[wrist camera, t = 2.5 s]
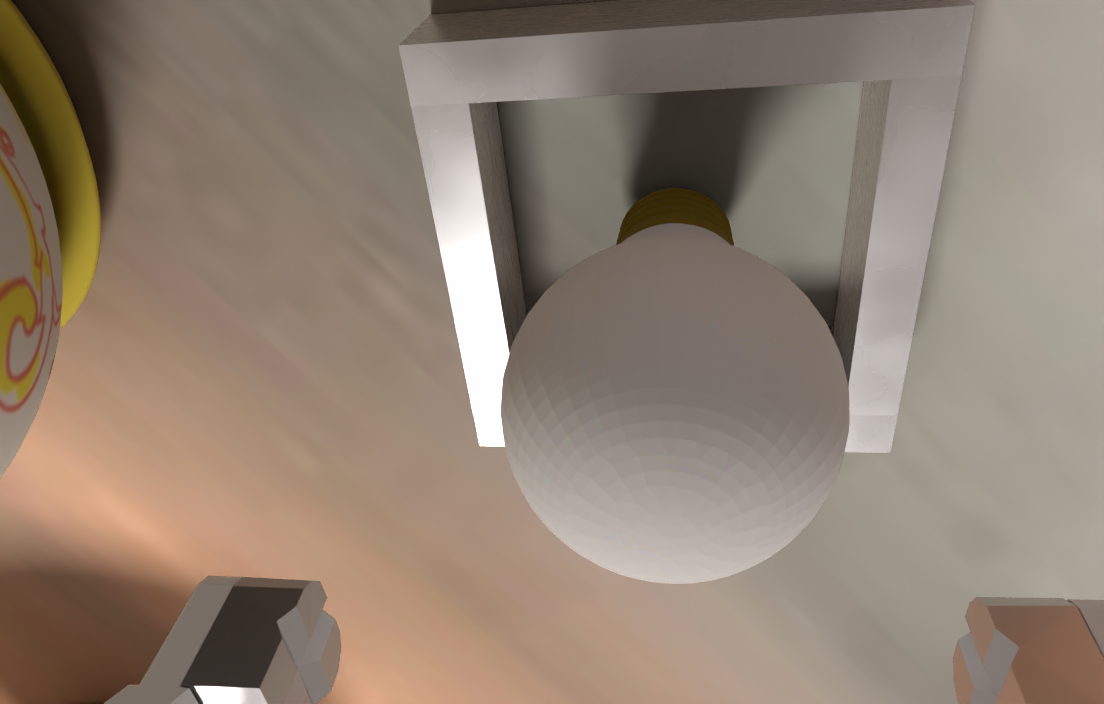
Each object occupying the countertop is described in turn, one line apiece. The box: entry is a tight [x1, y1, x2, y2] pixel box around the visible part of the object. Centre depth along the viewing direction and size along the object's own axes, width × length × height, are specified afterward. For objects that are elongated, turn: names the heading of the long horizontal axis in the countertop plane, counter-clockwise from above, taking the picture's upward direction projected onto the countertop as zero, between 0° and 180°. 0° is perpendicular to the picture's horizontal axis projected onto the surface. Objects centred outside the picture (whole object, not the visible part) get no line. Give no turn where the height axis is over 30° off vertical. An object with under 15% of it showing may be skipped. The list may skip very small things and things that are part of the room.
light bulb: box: [500, 188, 850, 584], centre depth 16 cm, size 6×6×10 cm
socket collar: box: [399, 0, 975, 453], centre depth 19 cm, size 10×10×2 cm
